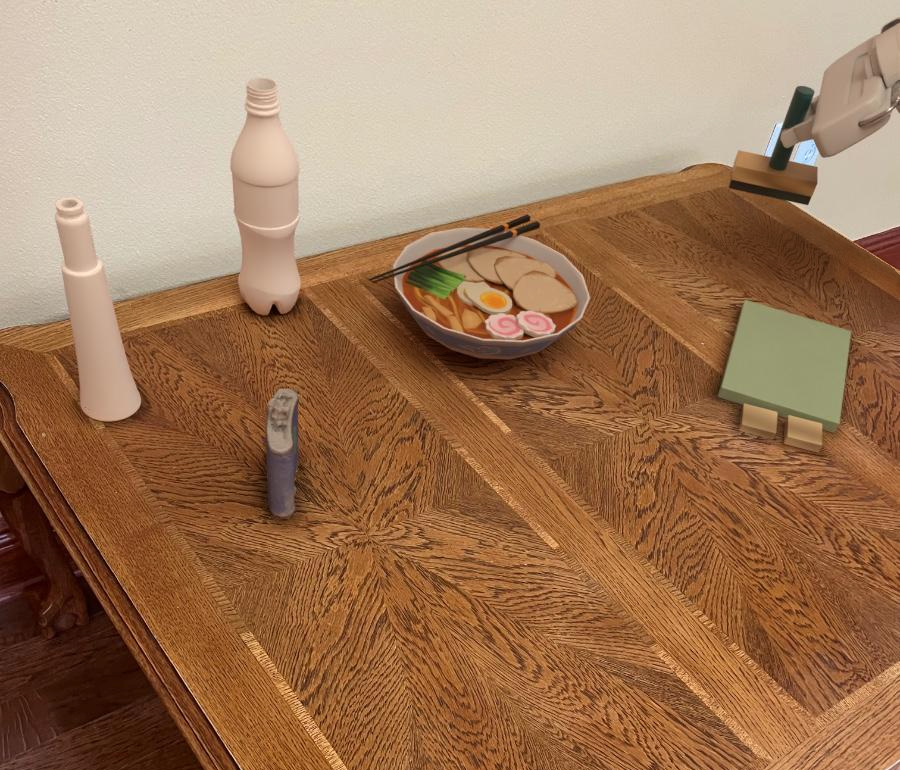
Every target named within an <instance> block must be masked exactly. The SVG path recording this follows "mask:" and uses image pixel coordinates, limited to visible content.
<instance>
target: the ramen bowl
mask: <svg viewBox="0 0 900 770" xmlns="http://www.w3.org/2000/svg"><path fill="white" fill-rule="evenodd" d="M531 218H532V216H531V215H529V214H525V215H522V216H520V217H517V218H515V219H513V220H510V221H507V222H505V223H504V224H500V225H498V226H495V227H492V228H482V227H457V228H451V229H445V230H438V231H433V232H429V233H428V234H425V235H424V236H422V237H420V238H417V239H416V240H414V241H413V242H411V243H408V244H407V245H405V247H404V248H403V250H402V251H401V253H400V254H399V255H398V257H397V258H396V259H395V261H394V263H393V264H392V268H393V269H390V270H388V271H386V272H383V273H381V274H378V275H376V276H373V277H371V278H369V281H371V282H372V284H374V283H377V282H381V281H383V280H386V279H390V278H394V288H395V290H396V293H397V295H398V298H399V299H400V301H401V302H402V304H403V306H404V307H405V308H406V310H407V311H408V312H409V315H411V317H412V318H413V319H414V320H415V322H416V324H417V325H418V326H419V327H420V329H421V330H422V331H423V332H424V333H425V334H426V335H427V336H428V337H429V338H431V339H432V340H434V341H436V342H438V343H439V344H441V345H442V346H444V347H446V348H447V349H449V350H451V351H454V352H457V353H461V354H464V355H467V356H470V357H474V358H477V359H488V360H489V359H491V360H513V359H517V358H522V357H526V356H531V355H535V354H537V353H539V352H541V351H543V350H545V349H546V348H547V347H549V346H551V345H552V344H553V343H554V342H556V341H557V340H559V339H561V337H563V336H564V335H566V334H567V333H568V332H569V331H572V330H573V329H574V327H575V326H576V325H577V324H579V322H580V321H581V320H582V319H583V316H584V314H585V312H586V309H587V306H588V304H589V302H590V300H591V295H590V292H589V290H588V289H589V288H588V285H587V283H586V280H585V277H584V275H583V273H581V271H580V270H579V269H577V267H576V266H575V265H574V264H573V263H572V262H571V261H570V260H569V259H568V258H567V256H565V254H562V253H561V252H559V251H557V250H555V249H553V248H551V247H549V246H548V245H546V244H544V243H542V242H541V241H539V240H537V239H535V238H531V237H527V236H524V235H523V234H526V233H529V232H532V231H536V230H539V229H540V227H541V222H539V221H533V222H531ZM529 222H531V223H529ZM526 223H528V224H526ZM523 224H525V225H523ZM520 225H523V226H520ZM519 226H520V227H519ZM515 227H517V228H515ZM513 228H515V229H513ZM510 229H513V230H510ZM506 230H509V231H506Z"/></svg>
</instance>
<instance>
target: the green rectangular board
mask: <svg viewBox="0 0 900 770" xmlns="http://www.w3.org/2000/svg"><path fill="white" fill-rule="evenodd" d="M851 337H852V331H851V330H849V329H846V328H843V327H839V326H836V325H832V324H829V323H825V322H823V321H818V320H815V319H812V318H808V317H806V316H803V315H799V314H795V313H792V312H789V311H784V310H782V309H779V308H775V307H772V306H768V305H764V304H761V303H758V302H754V301H751V300H748V299H744V300H743V303H742V305H741V307H740V312H739V314H738V319H737V322H736V325H735V330H734V333H733V336H732V341H731V344H730V349H729V352H728V356H727V358H726V359H727V360H726V363H725V367H724V371H723V374H722V377H721V382H720V385H719V388H718V393H717V398H720V399H722V400H726V401H729V402H731V403H736V404H739V405H741V406H743V404H744V403H745V404H749V405H753V406H757V407H760V408H764V409H768V410H772V411H776V412H778V413H777V417H781V418H784V419H785V420H786V419H787V417H788V415H791V416H795V417H799V418H803V419H807V420H810V421H814V422H818V423H822V431H825V432H828V433H831V434H835V433H836V431H837V430H838V427H839V425H841V418H842V417H841V415H842V407H843V399H844V392H845V384H846V376H847V368H848V360H849V353H850V345H851Z"/></svg>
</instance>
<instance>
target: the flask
mask: <svg viewBox="0 0 900 770" xmlns="http://www.w3.org/2000/svg"><path fill="white" fill-rule="evenodd" d="M299 397H300V396H299V394H298V392H296V391H295V390H294V389H292V388H290V387H289V388H288V387H287V388H286V387H284V388H280V389H277V390H276V391H275V392H274V394H273V396H272V398H271V399H269V401H268V402H267V406H268V408H267V411H266V417H265V426H264V427H265V428H264V433H265V451H266V478H267V481H266V483H267V484H266V486H267V503H268V508H269V512H270V515H271V516H272V517H273V518H274V519H276V520H290V519H291V517H293V516H294V513H295V509H296V504H295V503H296V502H295V497H296V493H297V487H296V485H295V481H297V478H296V474H297V472H298V467H299V399H300V398H299Z"/></svg>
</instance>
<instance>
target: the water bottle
mask: <svg viewBox="0 0 900 770" xmlns="http://www.w3.org/2000/svg"><path fill="white" fill-rule="evenodd" d="M245 88H246V98H245V103H244V109H245V111H246V119H245V123H244V125H243V127H242V129H241V131H240V132H239V135H238V136H237V139H236V141H235V144H234V146H233V149H232V151H231V156H230V165H229V166H230V172H231V178H232V179H231V180H232V193H233V194H232V195H233V214H234V216H235V219H236V223H237V227H238V230H239V237H240V242H241V266H240V271H239V274H238V277H237V283H238V290H239V292H240V296H241V297H242V299H243V301H244V302H245V303H246V304H247V305H248V306H249V307H250V309H251V310H252V311H254V312H255V313H256V314H258V315H261V316H268V315H269V314H270V312H271V309H272V307H273V305H274V306H275V307H276V309H277V311H278V312H279V313H280V315H284V314H288V313H289V312H290V311H292V309H293V308H294V306H295V305H296V303H297V300H298V297H299V294H300V290H301V284H302V282H301V280H302V279H301V275H300V272H299V268H298V265H297V260H296V255H295V254H296V253H295V252H296V251H295V235H296V234H295V233H296V229H297V226H298V224H299V222H300V217H301V213H300V208H299V206H300V205H299V199H300V198H299V175H300V164H299V159H298V155H297V152H296V151H295V148H294V146H293V144H292V142H291V140H290V138H289V137H288V135H287V133H286V131H285V129H284V127H283V125H282V122H281V119H280V112H281V104H280V100H279V98H278V97H279V95H278V93H279V92H278V83H277V82H276V81H275V80H274V79H271V78H268V77H264V76H263V77H262V76H261V77H260V76H256V77H252V78H249V79H248V80H247V81H246V87H245Z"/></svg>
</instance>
